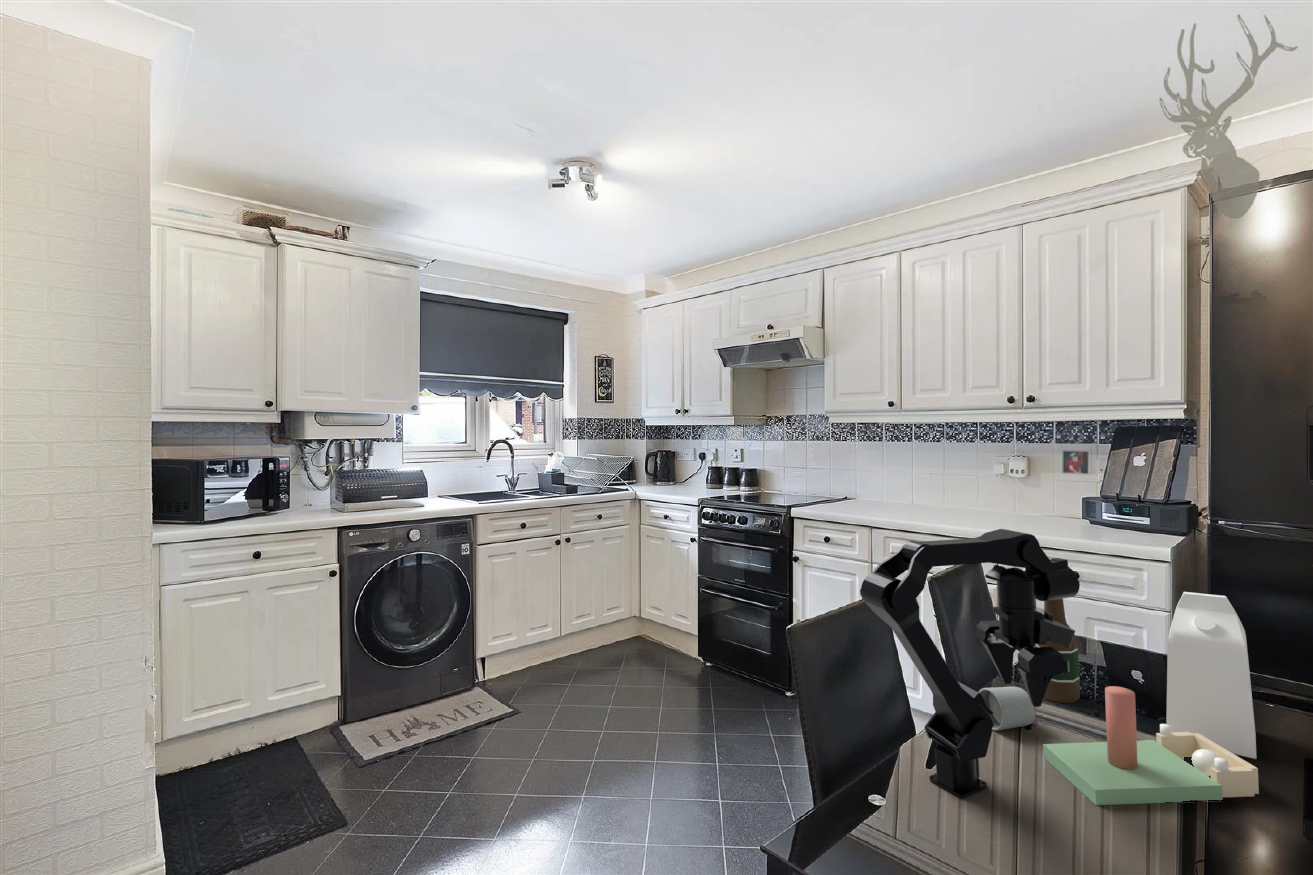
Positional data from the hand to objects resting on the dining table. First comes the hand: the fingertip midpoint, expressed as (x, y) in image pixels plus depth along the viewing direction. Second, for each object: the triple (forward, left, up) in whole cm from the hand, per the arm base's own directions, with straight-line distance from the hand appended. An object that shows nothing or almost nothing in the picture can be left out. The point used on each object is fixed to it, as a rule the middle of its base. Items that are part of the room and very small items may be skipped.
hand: (1021, 694), depth 108 cm
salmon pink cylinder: (+11, -10, -11) cm, 18 cm away
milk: (+38, -10, -13) cm, 41 cm away
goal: (+22, -16, -13) cm, 30 cm away
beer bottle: (+32, +14, -13) cm, 37 cm away
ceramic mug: (+12, +13, -13) cm, 22 cm away
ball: (+23, -16, -11) cm, 30 cm away
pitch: (+11, -10, -13) cm, 20 cm away
